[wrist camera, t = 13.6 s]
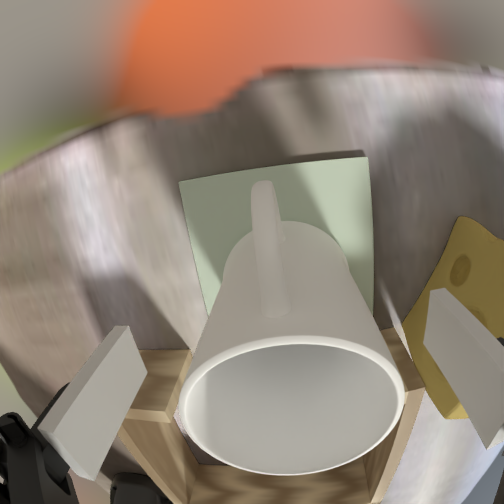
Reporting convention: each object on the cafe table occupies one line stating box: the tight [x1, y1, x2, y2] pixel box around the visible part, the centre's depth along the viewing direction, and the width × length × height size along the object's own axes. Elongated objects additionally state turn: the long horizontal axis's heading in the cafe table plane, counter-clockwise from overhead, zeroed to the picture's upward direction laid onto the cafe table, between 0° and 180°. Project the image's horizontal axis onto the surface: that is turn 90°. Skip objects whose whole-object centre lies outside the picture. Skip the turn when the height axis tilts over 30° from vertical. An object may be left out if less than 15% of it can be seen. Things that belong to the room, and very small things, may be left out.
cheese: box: [402, 216, 504, 419], centre depth 16 cm, size 10×11×10 cm
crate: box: [117, 328, 425, 504], centre depth 23 cm, size 22×20×7 cm
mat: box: [179, 157, 374, 317], centre depth 20 cm, size 12×12×1 cm
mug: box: [178, 180, 405, 475], centre depth 14 cm, size 12×8×12 cm
